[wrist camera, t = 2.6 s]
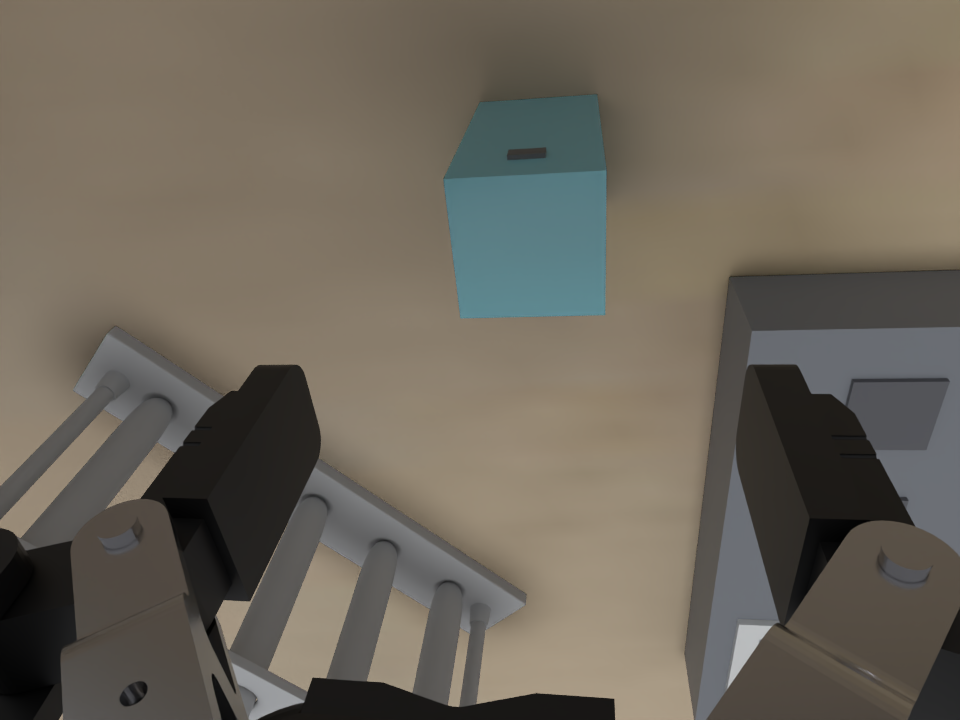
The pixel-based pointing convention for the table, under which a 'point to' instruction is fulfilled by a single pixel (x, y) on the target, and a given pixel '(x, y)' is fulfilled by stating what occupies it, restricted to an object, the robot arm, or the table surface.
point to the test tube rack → (316, 518)
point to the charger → (530, 209)
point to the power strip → (859, 386)
